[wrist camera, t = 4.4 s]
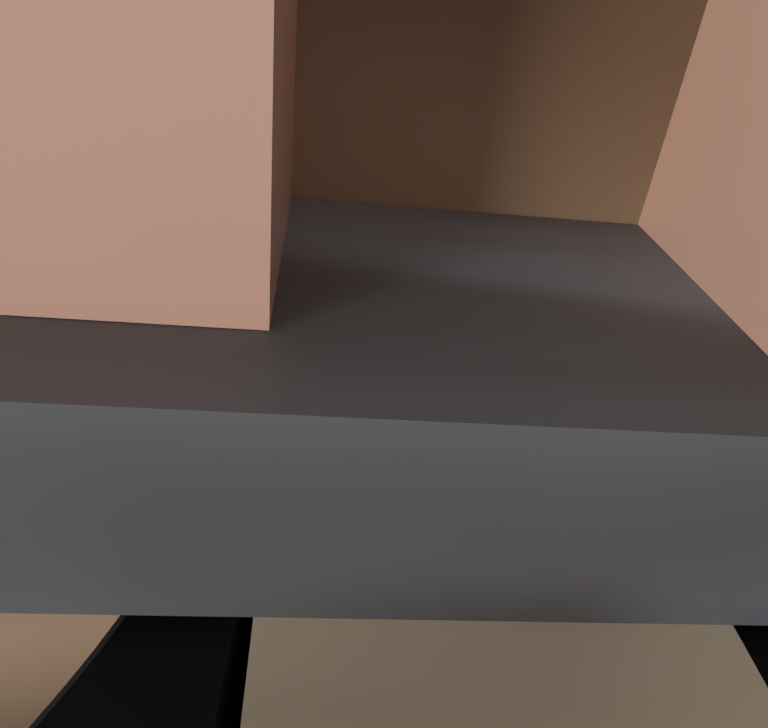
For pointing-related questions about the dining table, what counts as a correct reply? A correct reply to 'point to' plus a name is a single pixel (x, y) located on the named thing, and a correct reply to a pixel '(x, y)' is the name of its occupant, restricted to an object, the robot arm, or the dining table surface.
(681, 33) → the board
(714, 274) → the pink block
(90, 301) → the tile
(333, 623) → the scraper
